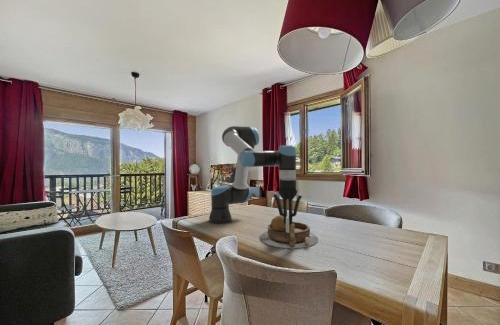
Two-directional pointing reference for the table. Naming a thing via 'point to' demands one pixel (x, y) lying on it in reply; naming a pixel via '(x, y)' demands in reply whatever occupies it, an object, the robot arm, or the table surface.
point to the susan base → (307, 243)
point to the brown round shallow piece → (290, 233)
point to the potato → (278, 224)
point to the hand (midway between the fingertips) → (288, 231)
